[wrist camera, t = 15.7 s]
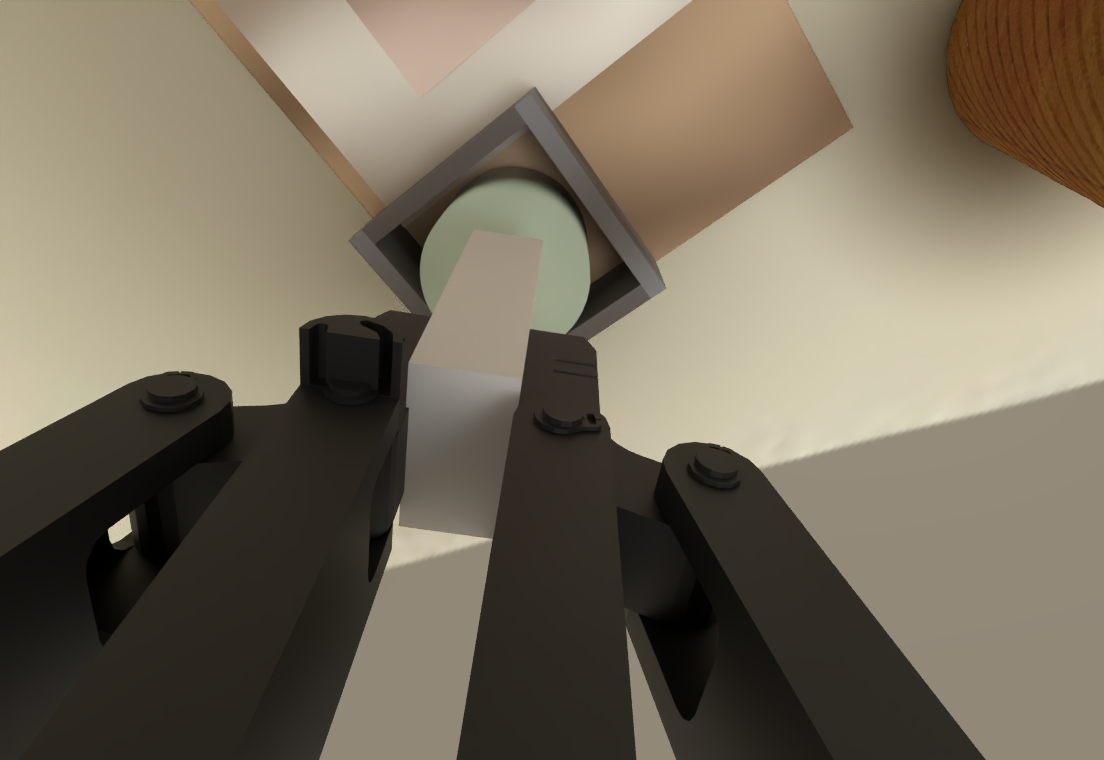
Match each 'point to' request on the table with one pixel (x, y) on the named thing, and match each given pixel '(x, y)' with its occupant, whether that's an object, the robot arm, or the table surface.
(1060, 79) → the disposable coffee cup
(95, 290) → the table surface
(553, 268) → the button
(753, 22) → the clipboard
